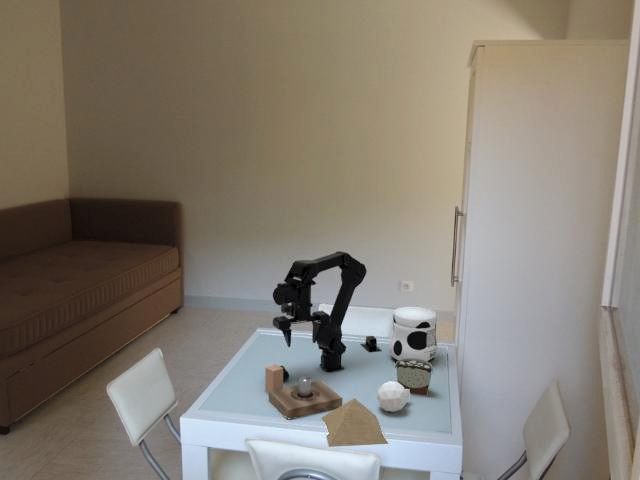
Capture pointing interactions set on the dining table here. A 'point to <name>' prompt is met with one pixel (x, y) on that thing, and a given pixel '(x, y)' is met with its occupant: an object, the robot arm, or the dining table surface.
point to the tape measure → (285, 373)
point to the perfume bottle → (392, 396)
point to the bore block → (305, 400)
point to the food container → (414, 375)
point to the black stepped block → (371, 344)
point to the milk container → (414, 334)
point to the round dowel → (305, 387)
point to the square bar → (273, 378)
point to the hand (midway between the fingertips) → (301, 344)
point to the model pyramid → (353, 426)
